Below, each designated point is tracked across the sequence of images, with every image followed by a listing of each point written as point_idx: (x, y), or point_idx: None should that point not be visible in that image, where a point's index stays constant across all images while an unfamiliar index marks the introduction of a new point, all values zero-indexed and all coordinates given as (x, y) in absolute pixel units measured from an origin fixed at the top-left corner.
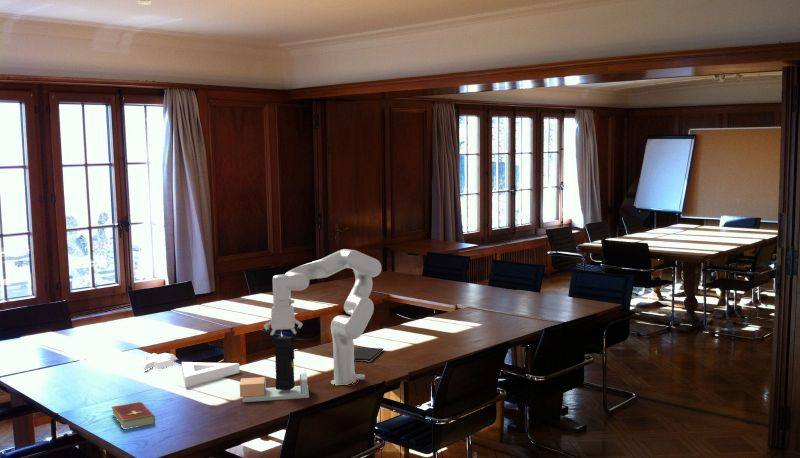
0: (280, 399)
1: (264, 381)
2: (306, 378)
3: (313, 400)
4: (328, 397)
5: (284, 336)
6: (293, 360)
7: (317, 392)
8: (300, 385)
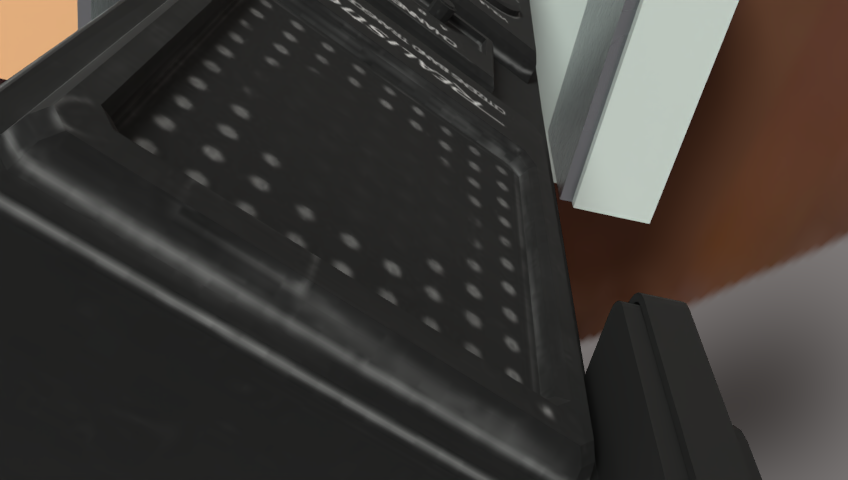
0: None
1: (81, 24)
2: (657, 184)
3: (618, 275)
4: (787, 252)
5: (244, 367)
6: (540, 121)
7: (774, 36)
8: (564, 132)
